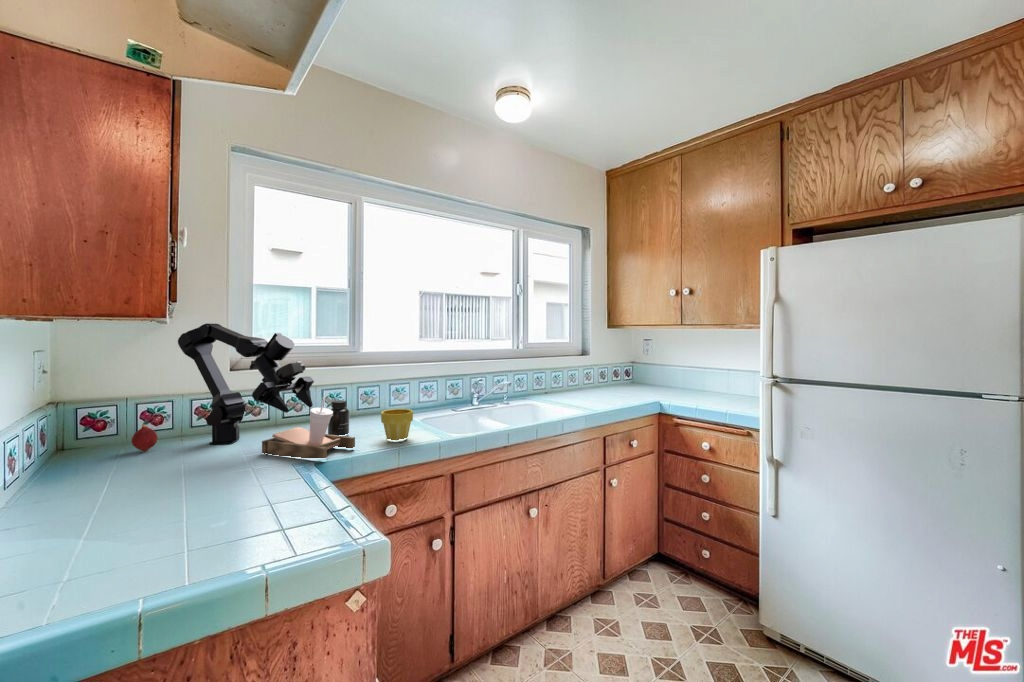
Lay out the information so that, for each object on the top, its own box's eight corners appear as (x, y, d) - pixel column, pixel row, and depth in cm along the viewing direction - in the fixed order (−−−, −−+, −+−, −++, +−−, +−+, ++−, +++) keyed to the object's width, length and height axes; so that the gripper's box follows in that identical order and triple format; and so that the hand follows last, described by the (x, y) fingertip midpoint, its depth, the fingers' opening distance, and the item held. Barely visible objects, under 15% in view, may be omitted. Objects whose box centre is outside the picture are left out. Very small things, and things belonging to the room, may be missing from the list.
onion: (162, 449, 129) (162, 422, 128) (144, 454, 123) (144, 427, 123) (145, 448, 129) (145, 422, 129) (126, 453, 123) (126, 426, 123)
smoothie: (300, 443, 124) (308, 397, 122) (309, 435, 130) (318, 392, 129) (322, 447, 124) (331, 402, 123) (330, 440, 130) (339, 396, 129)
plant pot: (378, 437, 146) (379, 409, 146) (409, 435, 150) (409, 407, 150) (383, 445, 137) (383, 415, 136) (415, 442, 141) (415, 413, 141)
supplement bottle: (344, 438, 144) (344, 403, 144) (324, 438, 145) (324, 402, 144) (352, 433, 151) (352, 399, 151) (333, 433, 151) (333, 399, 151)
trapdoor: (270, 446, 126) (273, 430, 125) (296, 438, 135) (299, 423, 135) (313, 463, 121) (316, 447, 121) (337, 454, 131) (340, 438, 130)
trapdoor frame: (262, 454, 125) (262, 441, 125) (297, 443, 138) (297, 430, 137) (323, 462, 118) (323, 448, 118) (354, 450, 131) (354, 437, 131)
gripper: (260, 354, 121) (290, 396, 118) (309, 351, 139) (337, 387, 136) (238, 380, 123) (268, 421, 120) (290, 374, 141) (316, 410, 138)
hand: (300, 409), depth 129 cm, fingers open, 9 cm apart
